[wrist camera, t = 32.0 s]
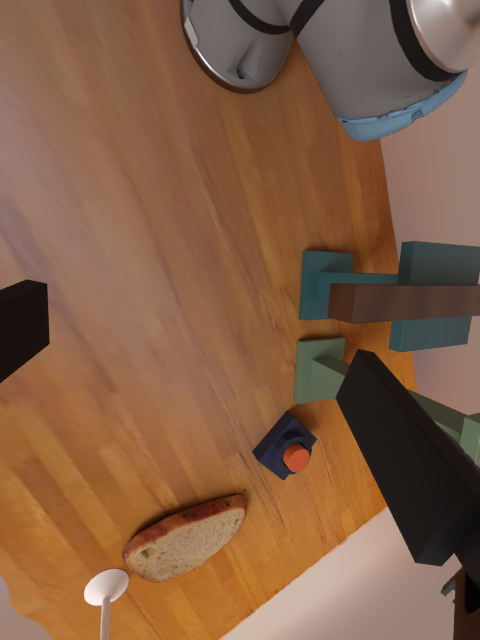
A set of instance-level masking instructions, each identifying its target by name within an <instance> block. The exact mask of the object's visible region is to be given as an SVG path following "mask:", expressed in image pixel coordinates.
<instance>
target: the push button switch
mask: <svg viewBox="0 0 480 640" xmlns="http://www.w3.org/2000/svg"><path fill="white" fill-rule="evenodd" d="M316 441H317V438H316V437H315V436H314V435H313V434H311V433H310V432H309V431H308V430H307V429H306V428H305V427H304V426H303V425H302V424H301V423H300V422H299V421H298V420H297V419H296V418H295V417H293V416H292V415H291V414H290V413H289V412H288V411H286V413H285V414H284V415H283V416H282V417H281V419H280V420H279V421H278V422H277V423H276V424H275V426H274V427H273V428H272V429H271V430H270V432H269V433H268V434H267V435H266V436H265V437H264V439H263V440H262V441H261V442H260V443H259V445H258V446H257V447H256V448H255V449H254V451H253V452H252V453H253V454H254V456H255V457H256V458H257V460H258V461H259V462H260V463H261V464H263V465H264V466H265V467H267V468H268V469H269V470H271V471H272V472H273V473H275V474H276V475H277V476H278V477H280V478H281V479H282V480H285V479H286V478H287V476H288V475H289V474H295V473H296V472H292V471H291V470H290V469H289V468H288V467H287V465H286V464H285V463H284V461H283V455H284V452H285V451H286V449H287V448H288V447H289V446H290V445H292V444H295V443H298V444H301V445H302V446H303V447H304V448H305V449H306V450H307V451H308V453H309V456H311V452H312V449H311V447H312V446H313V444H314V443H315V442H316ZM309 459H310V458H309Z"/></svg>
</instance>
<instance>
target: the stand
mask: <svg viewBox="0 0 480 640" xmlns="http://www.w3.org/2000/svg"><path fill="white" fill-rule="evenodd" d="M344 350H345V338H343V337H331V338H320V339H308V340H298V342H297V357H296V373H295V388H294V401H295V402H296V403H297V404H302V403H307V402H313V401H318V400H323V399H329V398H332V399H333V400H335V401H336V399H335V397H336V395H337V393H338V391H339V389H340V386H341V384H342V382H343V380H344V378H345V376H346V373H347V371H348V369H349V367H350V365H351V364H348V363H346V362H344V361H343V360H344ZM406 390H407V391H408V392H409V393H410V394H411V395H412V396H413V398H414V399H415V400H416V401H417V402H418V403H419V404H420V406H421V407H422V408H423V409H424V410H425V411H426V412H427V414H428V415H429V416H430V417H431V418H432V419H433V420H434V422H435V423H436V424H437V425H438V426H439V427H441V428H442V429H443V430H444V431H446V432H447V433H448V434H449V435H451V436H452V437H453V438H454V439H455V440H456V442H457V443H458V444H459V445H460V446H461V447H462V448H463V449H464V450H465V451H464V452H465V453H467V454H468V455H469V456H470V457H471V458H472V459H473V461H474V462H475V465H478V466H479V467H480V413H476V414H473V415H469V416H468V415H466V414H463V413H461V412H459V411H456V410H454V409H452V408H450V407H447V406H445V405H443V404H440V403H438V402H436V401H433V400H431V399H429V398H427V397H424V396H422V395H420V394H417V393H415V392H413V391H410V390H408V389H406ZM336 402H337V401H336Z"/></svg>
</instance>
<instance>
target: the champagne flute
mask: <svg viewBox="0 0 480 640" xmlns="http://www.w3.org/2000/svg"><path fill="white" fill-rule="evenodd" d="M128 582H129V577H128V575H127V573H126V572H125V571H123V570H121V569H109V570H106V571H103V572H101V573H99V574H98V575H96V576H95V577H94V578H92V579H91V580H90V582H89V583H88V584H87V586H86V588H85V591H84V598H85V600H86V601H87V602H88V603H89V604H91V605H96V606H99V605H102V614H101V631H100V640H109V626H110V602H112V601H114V600H116V599H117V598H118V597H120V596H121V595H122V594H123V592H124V591H125V590H126V588H127V586H128Z"/></svg>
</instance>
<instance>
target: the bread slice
mask: <svg viewBox="0 0 480 640" xmlns="http://www.w3.org/2000/svg"><path fill="white" fill-rule="evenodd" d="M246 509H247V505H246V500H245V498H244V496H243V495H241V494H236V495H234V496H227V497H221V498H219V499H216V500H211V501H210V502H208V503H203V504H200V505H199V506H195V507H191V508H189V509H187V510H184V511H181V512H178V513H176V514H174V515H171V516H168V517H166V518H165V519H163V520H161V521H160V522H158V523H155V524H154V525H153V526H151V527H149V528H147V529H145V530H143V531H142V532H140V533H138V534H137V535H136V536H135V537H133V538H132V539H131V541H130V542H129V543H128V544H127V546H126V548H125V550H124V551H123V553H122V558H123V560H124V562H125V563H126V565H127V566H128V568H129V569H130V570H131V571H132V572H133V573H134V574H135V575H137V576H138V577H139V578H142V579H144V580H147V581H150V582H161V581H164V580H168V579H171V578H175V577H179V576H181V575H183V574H185V573H188V572H190V571H191V570H193V569H195V568H197V567H199V566H200V565H202V564H204V563H205V562H206V561H208V559H209V558H210V557H211V556H212V555H213V554H215V553H216V552H217V551H219V550H220V549H222V548H223V547H224V546H225V545H226V544H227V543H229V542H230V541H231V540H232V538H233V537H234V536H235V534H236V533H237V532H238V531H239V530H240V528H241V526H242V524H243V522H244V520H245V517H246Z"/></svg>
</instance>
